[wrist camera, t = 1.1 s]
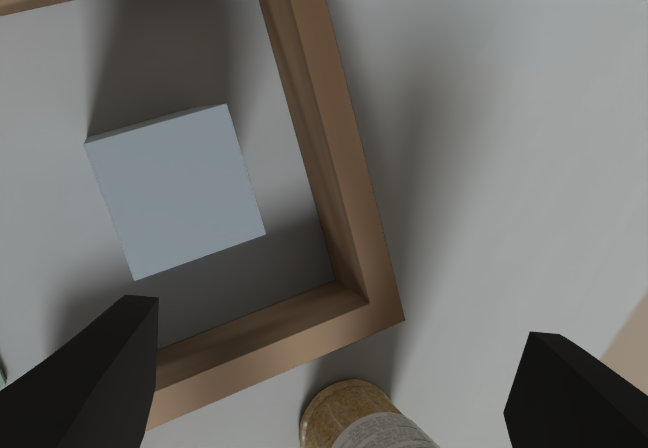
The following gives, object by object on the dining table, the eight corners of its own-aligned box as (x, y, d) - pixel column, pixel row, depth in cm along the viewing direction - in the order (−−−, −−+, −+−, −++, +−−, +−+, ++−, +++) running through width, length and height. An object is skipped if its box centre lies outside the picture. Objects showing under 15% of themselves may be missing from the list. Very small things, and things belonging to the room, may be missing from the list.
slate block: (124, 240, 23) (134, 281, 17) (86, 137, 22) (83, 144, 16) (226, 206, 24) (266, 234, 18) (194, 106, 23) (226, 103, 17)
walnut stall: (57, 421, 23) (51, 471, 20) (-126, 0, 19) (-172, -23, 16) (367, 295, 27) (405, 320, 23) (269, -79, 23) (298, -112, 19)
